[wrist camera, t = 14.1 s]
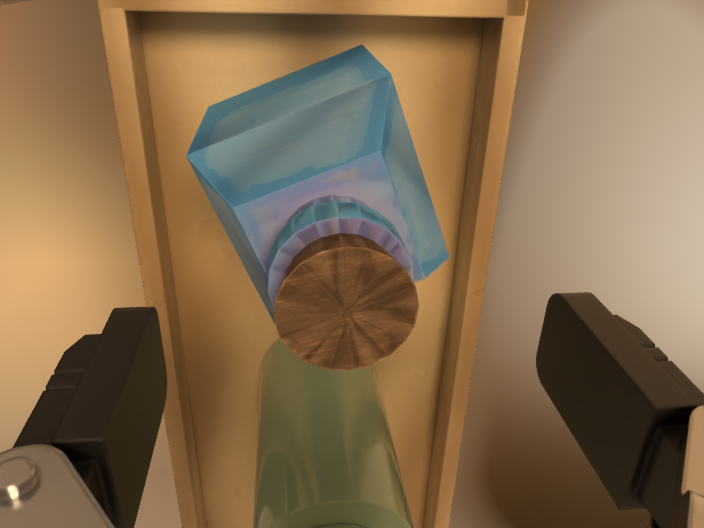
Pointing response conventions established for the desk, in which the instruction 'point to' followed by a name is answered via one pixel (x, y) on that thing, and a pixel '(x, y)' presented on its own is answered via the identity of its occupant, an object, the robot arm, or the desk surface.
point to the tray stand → (226, 266)
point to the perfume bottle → (324, 206)
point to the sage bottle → (324, 449)
